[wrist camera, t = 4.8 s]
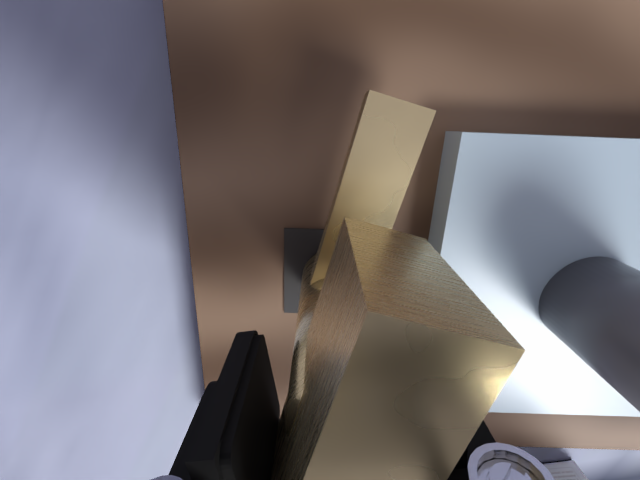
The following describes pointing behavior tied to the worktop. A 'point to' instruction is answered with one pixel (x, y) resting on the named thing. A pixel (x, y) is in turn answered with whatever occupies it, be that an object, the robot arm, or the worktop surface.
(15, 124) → the worktop surface
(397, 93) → the board
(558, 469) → the supplement box
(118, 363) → the worktop surface
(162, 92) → the worktop surface
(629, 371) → the lid
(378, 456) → the key
